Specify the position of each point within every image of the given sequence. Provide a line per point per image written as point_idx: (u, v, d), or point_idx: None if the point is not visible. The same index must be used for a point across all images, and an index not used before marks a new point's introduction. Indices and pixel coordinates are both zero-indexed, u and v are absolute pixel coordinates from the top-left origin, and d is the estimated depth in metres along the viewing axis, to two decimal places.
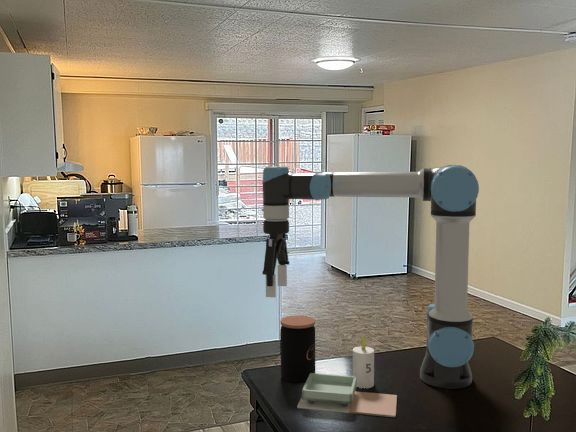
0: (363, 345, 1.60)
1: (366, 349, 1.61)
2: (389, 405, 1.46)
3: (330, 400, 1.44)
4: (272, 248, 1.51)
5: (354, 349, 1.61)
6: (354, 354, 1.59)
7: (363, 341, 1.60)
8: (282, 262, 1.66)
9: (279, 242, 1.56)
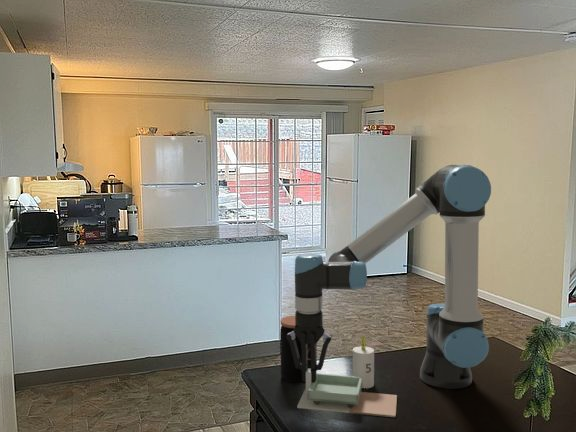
0: (363, 345, 1.60)
1: (366, 349, 1.61)
2: (389, 405, 1.46)
3: (336, 400, 1.44)
4: None
5: (354, 349, 1.61)
6: (354, 354, 1.59)
7: (363, 341, 1.60)
8: None
9: None
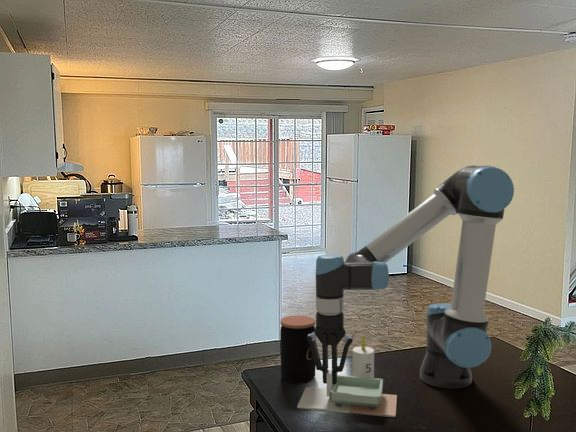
0: (363, 345, 1.60)
1: (366, 349, 1.61)
2: (389, 405, 1.46)
3: (358, 403, 1.42)
4: None
5: (354, 349, 1.61)
6: (354, 354, 1.59)
7: (363, 341, 1.60)
8: None
9: None
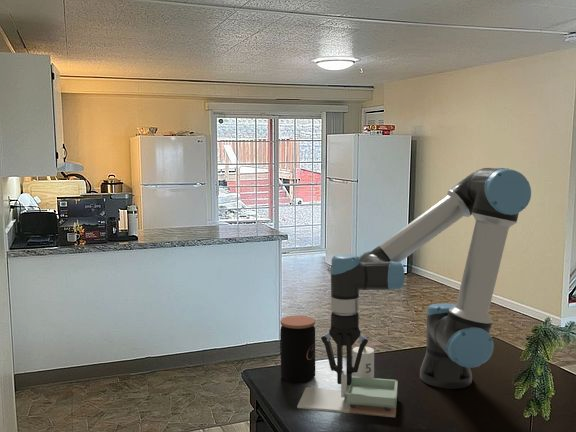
0: None
1: (366, 349, 1.61)
2: None
3: (373, 404, 1.42)
4: None
5: (354, 349, 1.61)
6: (354, 354, 1.59)
7: None
8: None
9: (337, 337, 1.47)
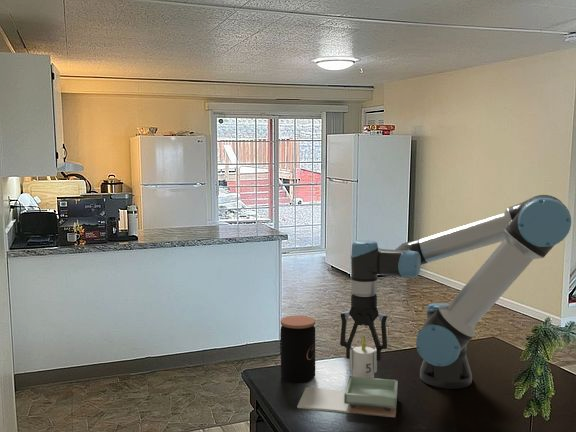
0: (363, 345, 1.60)
1: (366, 349, 1.61)
2: None
3: (373, 404, 1.42)
4: (342, 322, 1.60)
5: (354, 349, 1.61)
6: (354, 354, 1.59)
7: (363, 341, 1.60)
8: None
9: (356, 316, 1.58)
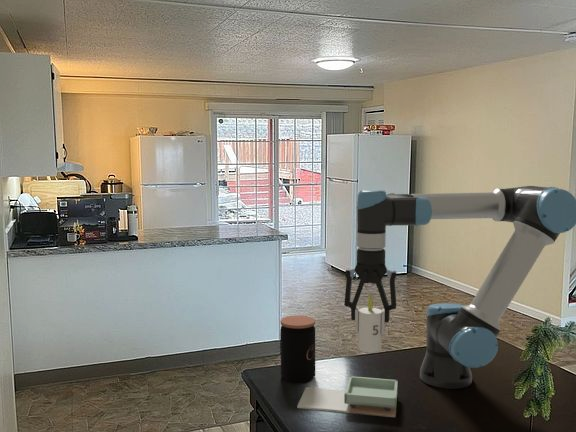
0: (370, 305, 1.45)
1: (373, 310, 1.46)
2: None
3: (373, 404, 1.42)
4: None
5: (360, 310, 1.46)
6: (360, 315, 1.45)
7: (370, 301, 1.46)
8: None
9: (362, 273, 1.44)
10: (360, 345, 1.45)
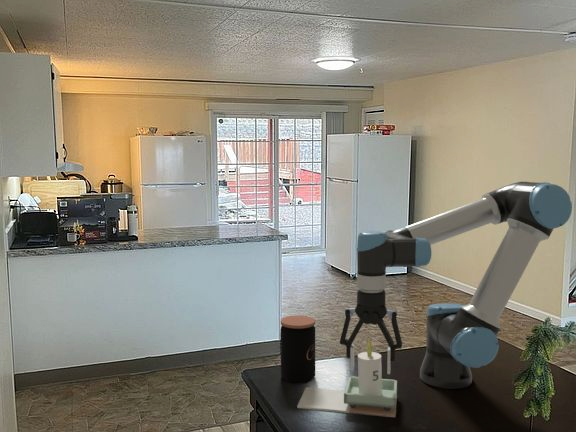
0: (369, 351, 1.46)
1: (372, 355, 1.47)
2: None
3: (373, 404, 1.42)
4: None
5: (359, 355, 1.47)
6: (359, 361, 1.46)
7: (369, 346, 1.47)
8: None
9: (362, 314, 1.44)
10: (361, 391, 1.46)
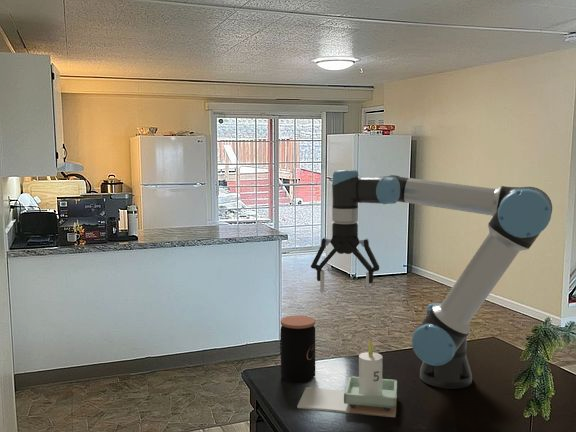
0: (370, 351, 1.46)
1: (374, 355, 1.47)
2: None
3: (373, 404, 1.42)
4: None
5: (360, 355, 1.47)
6: (361, 361, 1.46)
7: (370, 347, 1.46)
8: None
9: (337, 244, 1.60)
10: (361, 391, 1.46)
